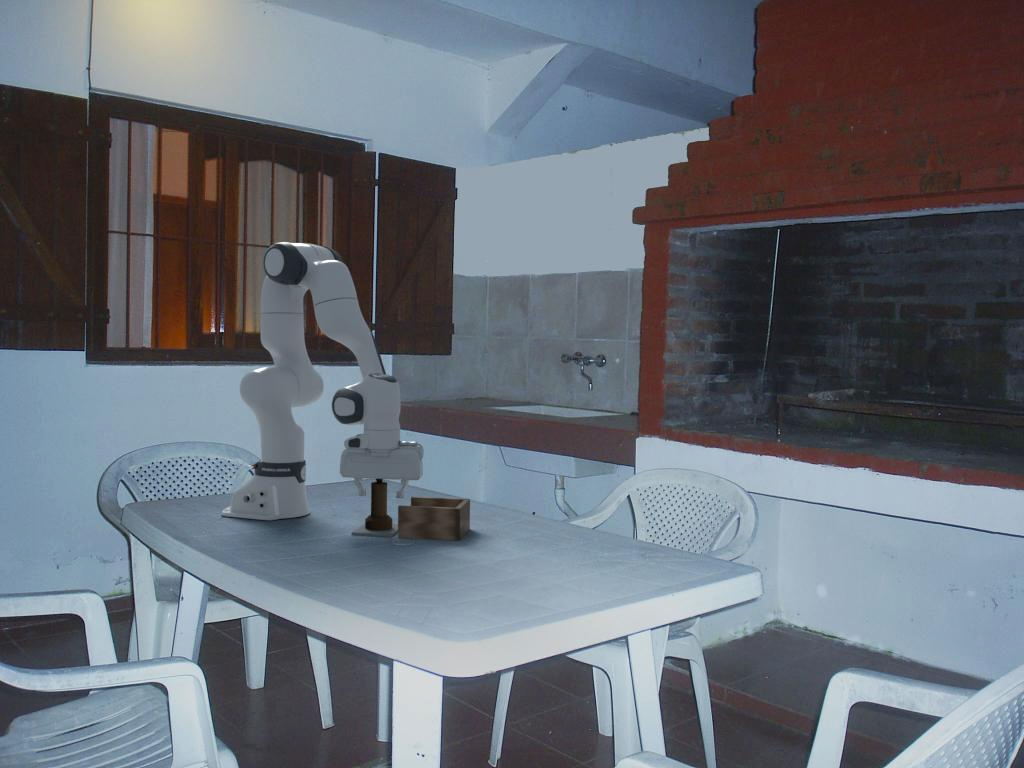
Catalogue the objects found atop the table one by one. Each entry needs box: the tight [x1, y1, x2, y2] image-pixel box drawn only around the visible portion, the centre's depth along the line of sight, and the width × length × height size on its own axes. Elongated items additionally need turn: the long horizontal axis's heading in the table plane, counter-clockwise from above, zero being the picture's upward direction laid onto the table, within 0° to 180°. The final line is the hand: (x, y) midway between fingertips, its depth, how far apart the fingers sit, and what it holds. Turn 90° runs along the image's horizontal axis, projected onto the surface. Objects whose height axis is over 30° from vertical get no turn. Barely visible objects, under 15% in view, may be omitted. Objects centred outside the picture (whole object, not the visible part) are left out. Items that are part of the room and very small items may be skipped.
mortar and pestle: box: [364, 479, 393, 530], centre depth 216 cm, size 7×6×18 cm
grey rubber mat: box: [351, 522, 398, 538], centre depth 216 cm, size 10×12×1 cm
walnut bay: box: [397, 496, 471, 541], centre depth 214 cm, size 15×13×8 cm
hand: (381, 496), depth 216 cm, fingers open, 8 cm apart
